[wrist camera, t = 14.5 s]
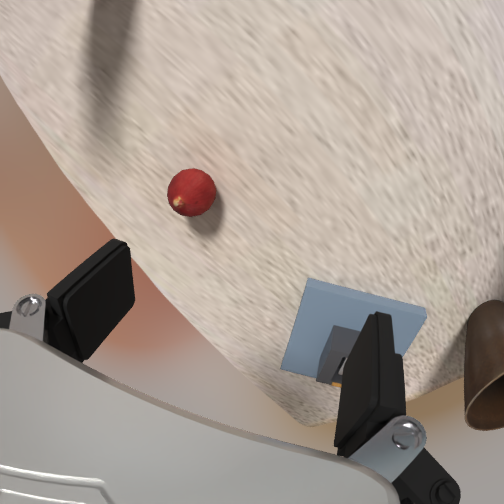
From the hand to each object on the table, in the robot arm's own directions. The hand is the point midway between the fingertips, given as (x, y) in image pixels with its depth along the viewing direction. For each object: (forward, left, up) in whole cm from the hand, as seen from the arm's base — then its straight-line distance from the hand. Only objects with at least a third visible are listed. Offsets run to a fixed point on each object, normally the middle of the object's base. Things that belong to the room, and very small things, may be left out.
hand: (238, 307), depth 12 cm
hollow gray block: (-12, +26, -26) cm, 39 cm away
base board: (-12, +26, -28) cm, 40 cm away
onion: (+13, +7, -28) cm, 32 cm away
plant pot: (-33, +16, -28) cm, 46 cm away
